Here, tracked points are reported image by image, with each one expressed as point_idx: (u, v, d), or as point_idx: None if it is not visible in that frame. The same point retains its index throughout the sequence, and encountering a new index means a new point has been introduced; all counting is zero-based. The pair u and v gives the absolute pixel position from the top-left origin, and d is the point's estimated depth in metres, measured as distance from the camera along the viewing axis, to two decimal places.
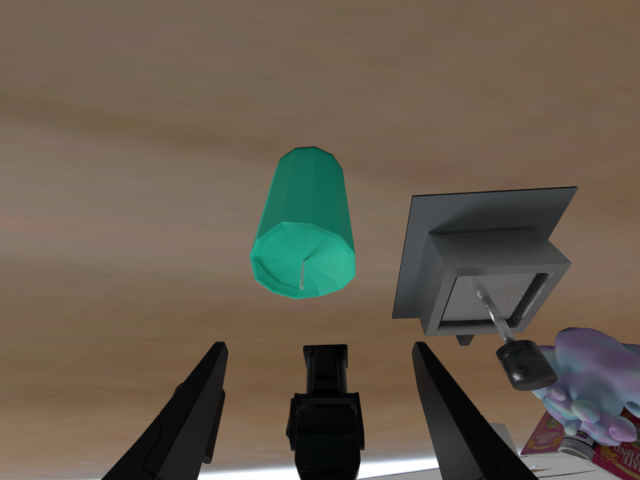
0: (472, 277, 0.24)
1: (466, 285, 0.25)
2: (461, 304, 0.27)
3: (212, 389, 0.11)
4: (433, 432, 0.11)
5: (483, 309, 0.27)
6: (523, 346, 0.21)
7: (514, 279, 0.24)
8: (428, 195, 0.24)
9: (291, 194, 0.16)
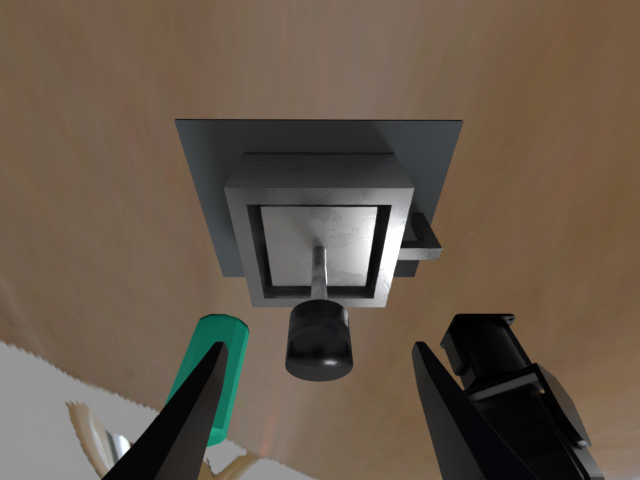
0: (276, 272, 0.19)
1: (290, 275, 0.20)
2: (329, 273, 0.19)
3: (212, 389, 0.11)
4: (433, 432, 0.11)
5: (345, 247, 0.18)
6: None
7: (278, 229, 0.17)
8: (220, 265, 0.25)
9: None
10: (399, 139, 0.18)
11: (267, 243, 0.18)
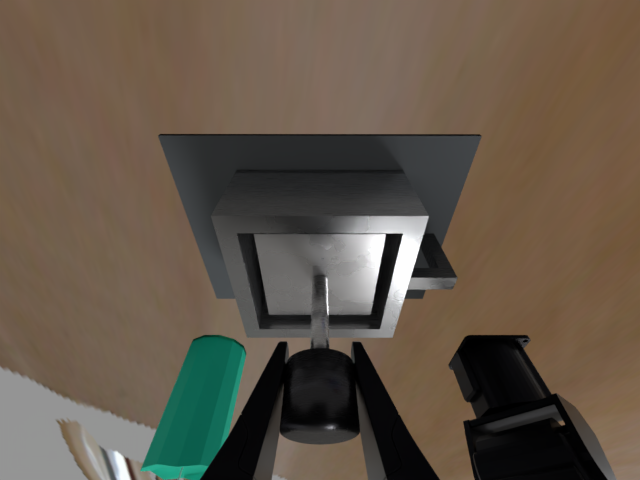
0: (273, 301, 0.18)
1: (288, 304, 0.18)
2: (331, 301, 0.18)
3: (282, 389, 0.11)
4: (361, 433, 0.11)
5: (349, 275, 0.16)
6: None
7: (274, 257, 0.15)
8: (213, 287, 0.23)
9: None
10: (410, 155, 0.16)
11: (262, 271, 0.16)
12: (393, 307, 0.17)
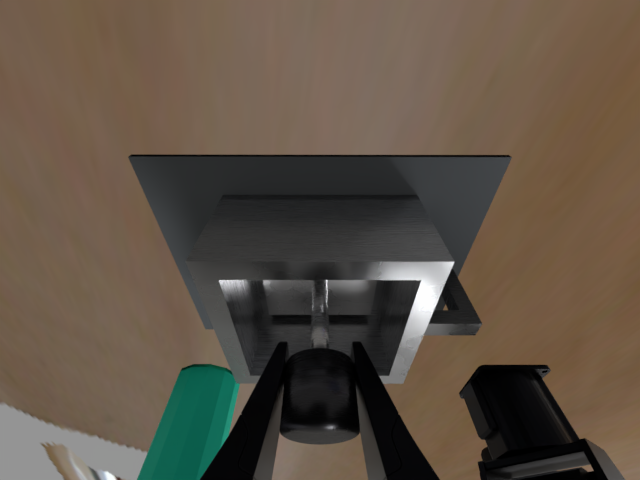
0: (273, 301, 0.17)
1: (288, 304, 0.18)
2: (331, 302, 0.18)
3: (282, 389, 0.11)
4: (362, 432, 0.11)
5: None
6: None
7: None
8: (201, 317, 0.21)
9: None
10: (425, 179, 0.14)
11: None
12: (405, 355, 0.14)
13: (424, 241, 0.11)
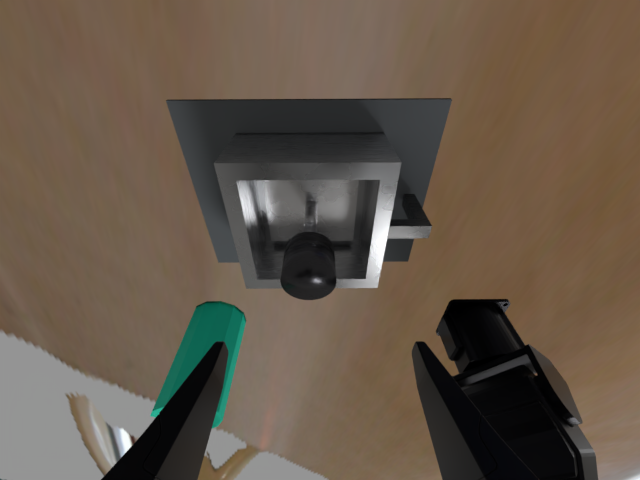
0: (274, 227, 0.22)
1: (287, 230, 0.22)
2: (321, 227, 0.22)
3: (212, 389, 0.11)
4: (433, 432, 0.11)
5: (334, 201, 0.20)
6: None
7: (275, 184, 0.20)
8: (215, 250, 0.25)
9: None
10: (389, 118, 0.18)
11: (266, 198, 0.20)
12: (376, 255, 0.19)
13: (383, 153, 0.15)
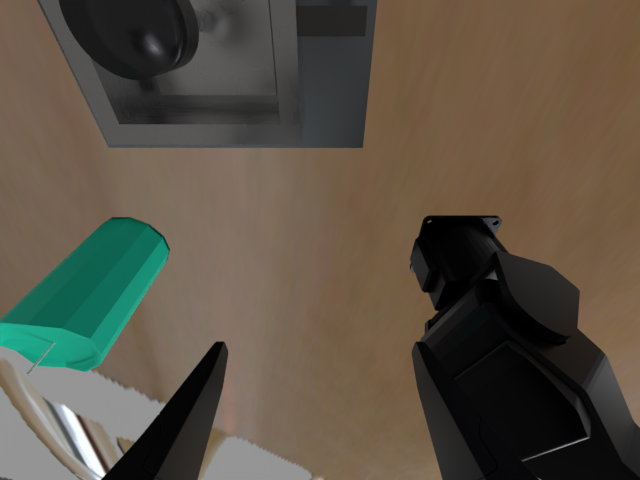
0: None
1: (179, 73, 0.15)
2: (226, 68, 0.15)
3: (212, 389, 0.11)
4: (433, 432, 0.11)
5: (235, 12, 0.14)
6: None
7: None
8: (99, 126, 0.19)
9: None
10: None
11: None
12: (287, 70, 0.12)
13: None
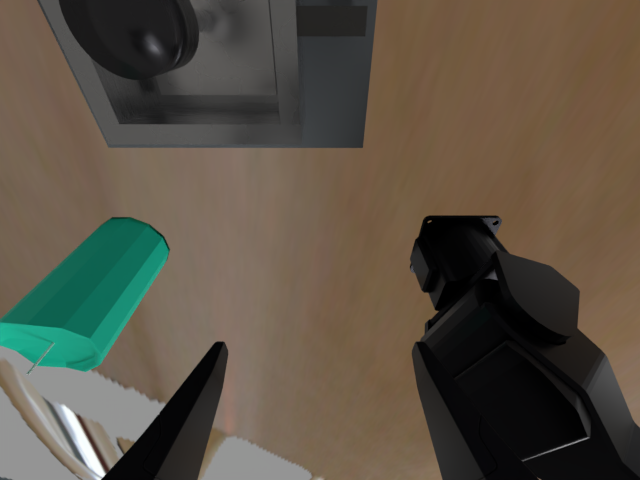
0: None
1: (179, 73, 0.15)
2: (226, 68, 0.15)
3: (212, 389, 0.11)
4: (433, 432, 0.11)
5: (235, 12, 0.14)
6: None
7: None
8: (99, 126, 0.19)
9: None
10: None
11: None
12: (287, 70, 0.12)
13: None
